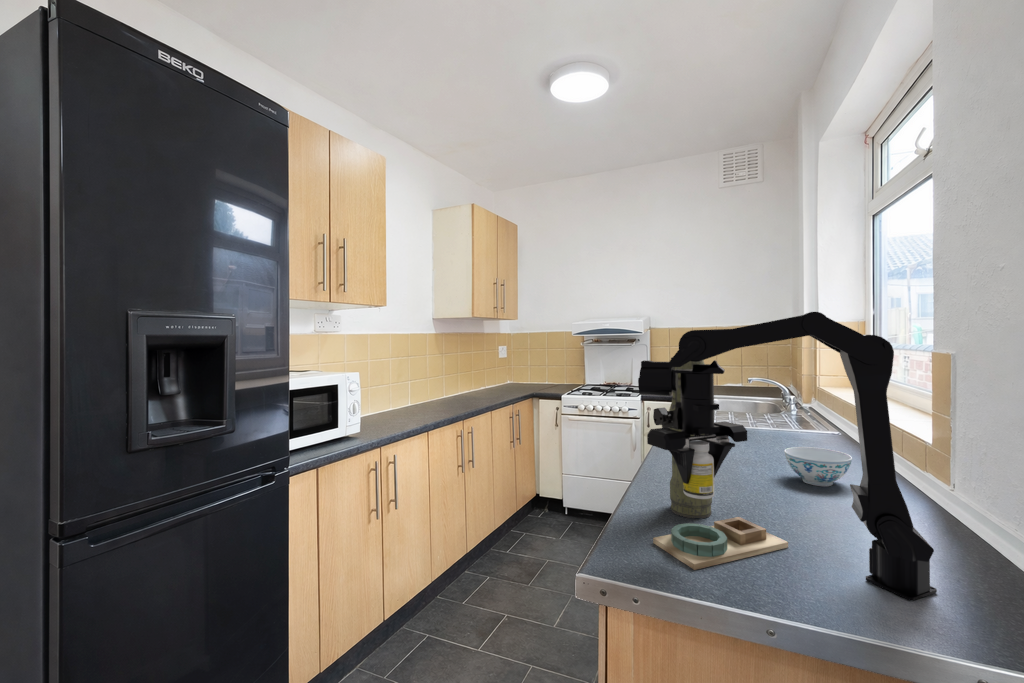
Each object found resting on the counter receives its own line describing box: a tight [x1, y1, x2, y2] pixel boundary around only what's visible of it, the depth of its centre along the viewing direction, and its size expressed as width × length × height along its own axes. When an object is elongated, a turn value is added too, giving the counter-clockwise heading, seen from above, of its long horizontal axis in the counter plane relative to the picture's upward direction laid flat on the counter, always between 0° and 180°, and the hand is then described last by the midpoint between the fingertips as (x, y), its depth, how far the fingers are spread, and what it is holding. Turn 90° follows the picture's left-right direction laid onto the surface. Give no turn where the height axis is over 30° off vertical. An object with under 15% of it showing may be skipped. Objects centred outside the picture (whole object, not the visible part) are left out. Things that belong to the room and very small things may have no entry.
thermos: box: [668, 360, 713, 519], centre depth 103 cm, size 9×12×35 cm
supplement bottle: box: [683, 440, 715, 499], centre depth 84 cm, size 5×5×10 cm
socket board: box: [652, 516, 789, 571], centre depth 86 cm, size 11×22×3 cm, turn 110°
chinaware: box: [784, 446, 853, 487], centre depth 121 cm, size 15×15×8 cm
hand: (698, 481), depth 84 cm, fingers closed on supplement bottle, 5 cm apart
